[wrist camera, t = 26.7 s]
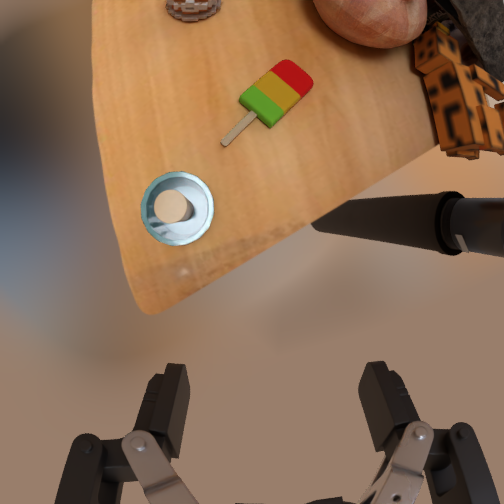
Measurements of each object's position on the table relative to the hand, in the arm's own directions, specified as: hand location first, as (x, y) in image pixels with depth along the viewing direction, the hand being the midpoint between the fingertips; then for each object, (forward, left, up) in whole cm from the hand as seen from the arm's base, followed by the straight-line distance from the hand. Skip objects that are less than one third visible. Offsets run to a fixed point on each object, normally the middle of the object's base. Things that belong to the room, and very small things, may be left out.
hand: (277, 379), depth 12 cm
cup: (+5, -8, -25) cm, 26 cm away
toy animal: (-45, -24, -19) cm, 55 cm away
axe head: (-43, -42, -3) cm, 61 cm away
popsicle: (-5, -21, -25) cm, 33 cm away
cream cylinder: (+5, -8, -24) cm, 26 cm away
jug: (-21, -39, -25) cm, 51 cm away
